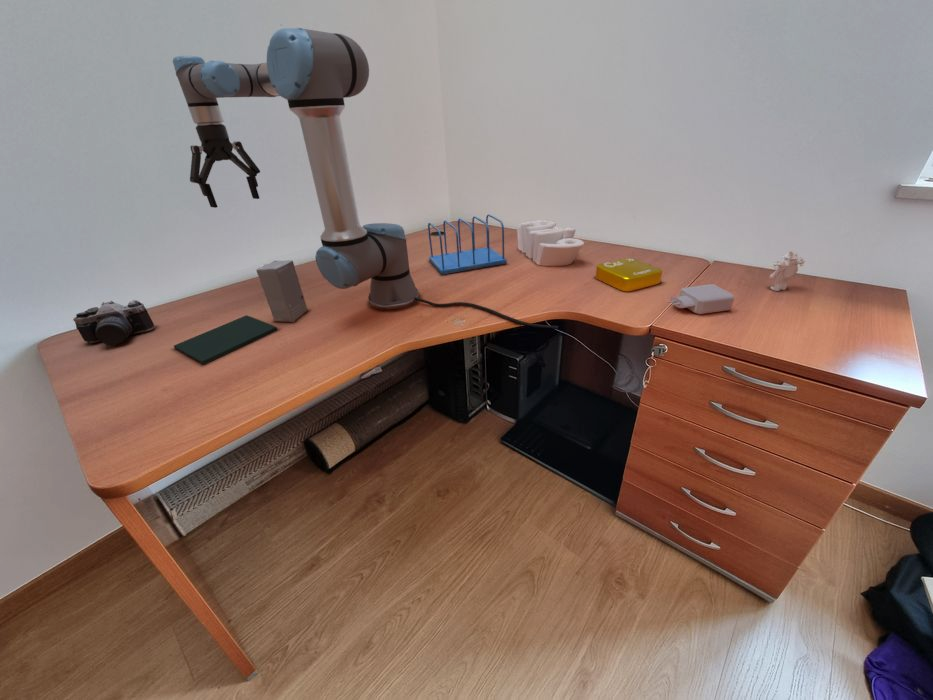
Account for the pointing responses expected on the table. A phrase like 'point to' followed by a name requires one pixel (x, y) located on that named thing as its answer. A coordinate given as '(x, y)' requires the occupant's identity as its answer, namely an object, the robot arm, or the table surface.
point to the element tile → (628, 274)
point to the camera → (113, 322)
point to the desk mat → (224, 339)
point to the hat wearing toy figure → (786, 270)
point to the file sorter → (466, 252)
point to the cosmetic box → (282, 290)
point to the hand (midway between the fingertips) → (236, 202)
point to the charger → (704, 299)
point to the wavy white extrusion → (548, 243)
